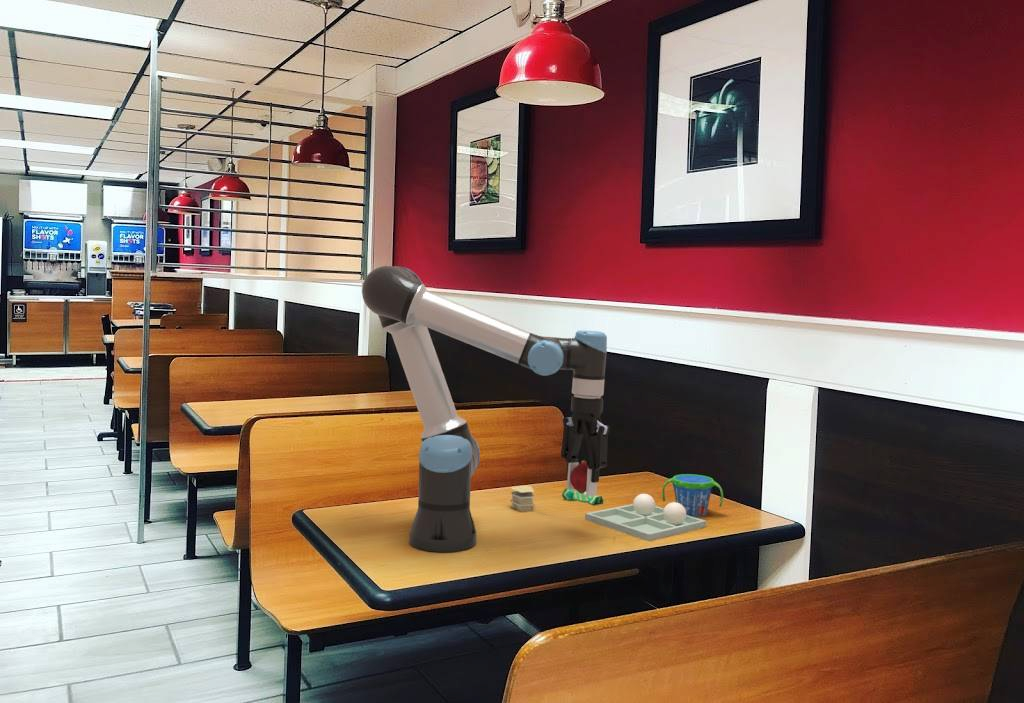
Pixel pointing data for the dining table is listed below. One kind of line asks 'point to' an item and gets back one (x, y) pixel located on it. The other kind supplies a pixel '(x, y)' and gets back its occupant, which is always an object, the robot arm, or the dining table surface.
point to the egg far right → (674, 513)
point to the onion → (579, 477)
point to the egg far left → (644, 504)
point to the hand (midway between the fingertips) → (581, 491)
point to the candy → (581, 497)
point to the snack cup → (693, 493)
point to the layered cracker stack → (522, 498)
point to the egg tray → (642, 522)
